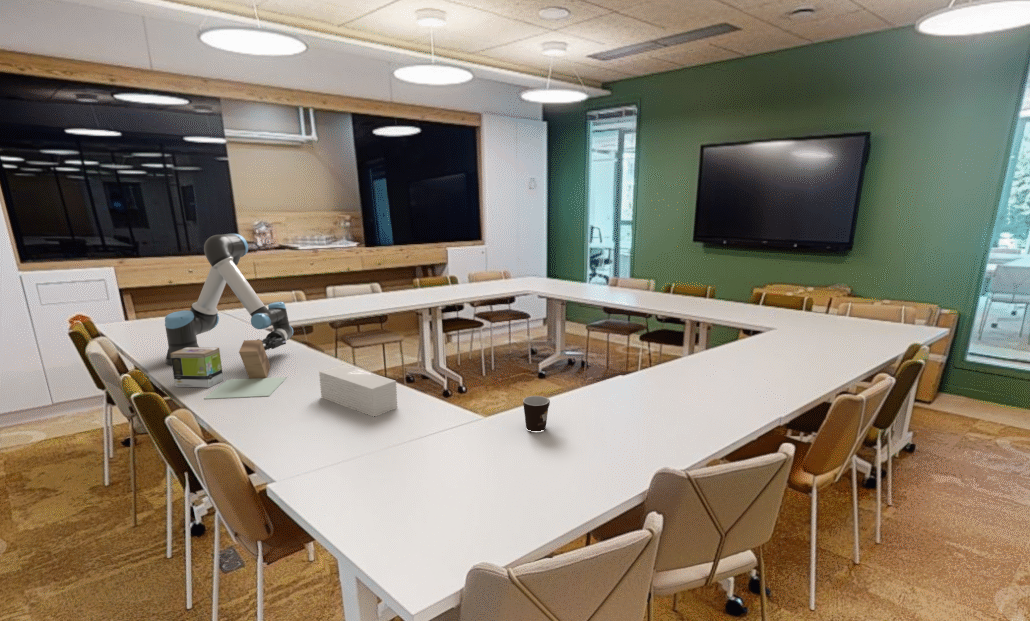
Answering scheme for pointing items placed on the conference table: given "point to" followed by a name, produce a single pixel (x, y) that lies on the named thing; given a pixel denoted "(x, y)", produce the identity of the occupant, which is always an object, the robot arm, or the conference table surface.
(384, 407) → the stack of papers
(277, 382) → the mat
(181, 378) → the tea box
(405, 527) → the conference table surface
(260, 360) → the walnut block
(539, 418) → the coffee mug
